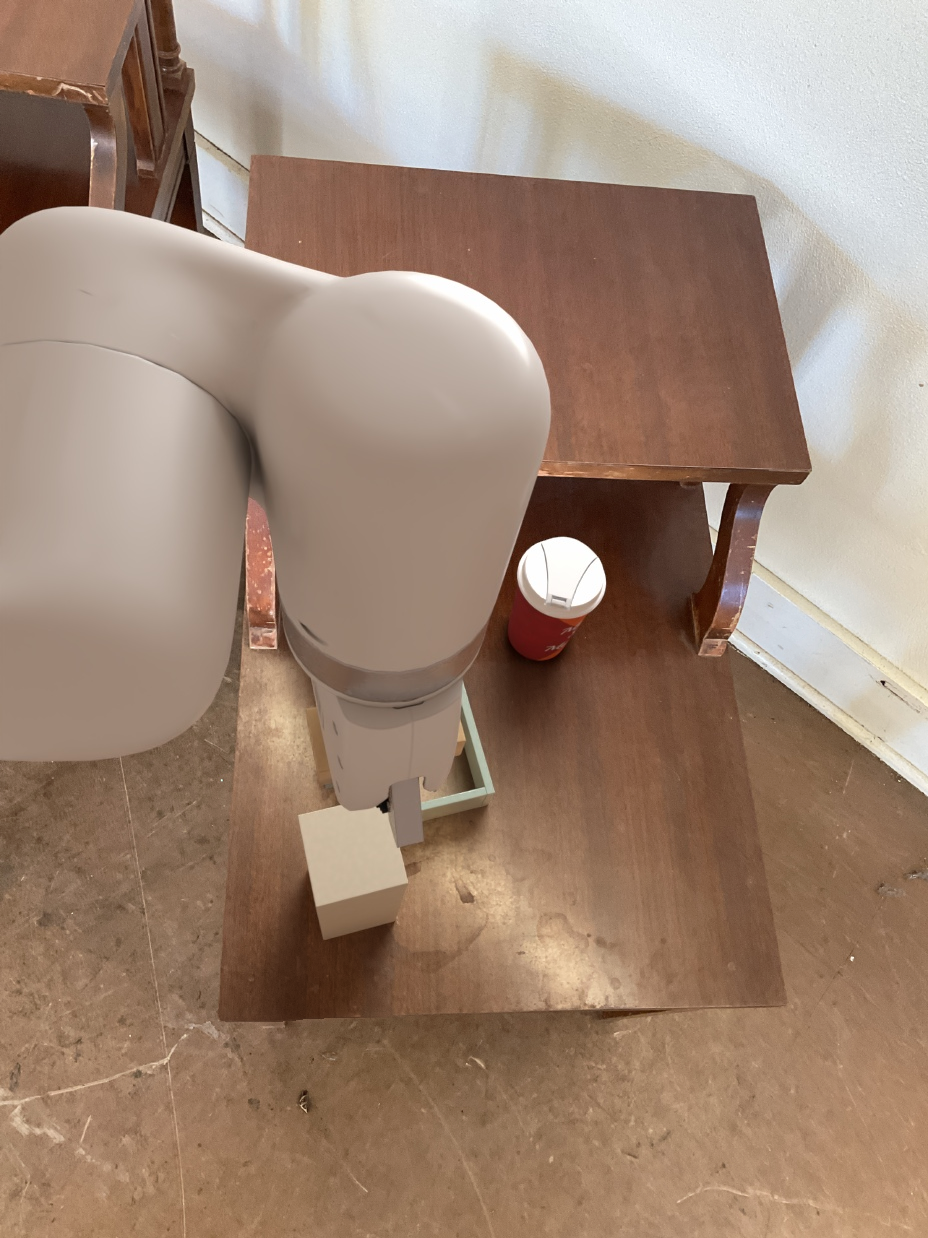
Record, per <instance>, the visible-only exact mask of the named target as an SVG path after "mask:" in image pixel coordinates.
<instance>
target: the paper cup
mask: <svg viewBox="0 0 928 1238" xmlns="http://www.w3.org/2000/svg"><path fill="white" fill-rule="evenodd" d="M516 575H517V586H516V590H515V595H514V599H513V603H512V607H511V611H510V616H509V620H508V626H507V636H508V641H509V643H510V645H511V646H512V647H513V649H514V650H515V651H516V652H517V653H518V654H519V655H521V656H523V657H524V658H526V659H529V660H533V661H547V660H550V659H553V658H555V657H557V656H558V655H559V654H560V653H561V652H562V651H563V649H564V648H565V647H566V645H567V644H568V642H570V640H571V638H572V637H573V636H574V634H575V633H576V631H577V630H578V628H579V627H580V626H581V624H582V623H583V622H584V619H586V617H587V616H588V614H589V613H591V612H592V611H593V610H594V609H596V608H597V606H598V605H599V604H600V603H601V601H602V599H603V597H604V595H605V592H606V587H607V580H606V574H605V570H604V567H603V564H602V562H601V560H600V558H599V557H598V556H597V554H596V553H595V552H594V551H593V550H592V549H591V548H590V547H589V546H587V545H586V544H585V543H583V542H581V541H580V540H578V539H575V538H572V537H567V536H558V537H552V538H549V539H546V540H545V539H544V540H543V541H540V542H537V543H535V544H534V545H532V546H530V547H529V548H528V549H527V550H526V551H525V552H524V553H523V554H522V557H521V559H520V560H519V563H518V567H517V572H516Z"/></svg>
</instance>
